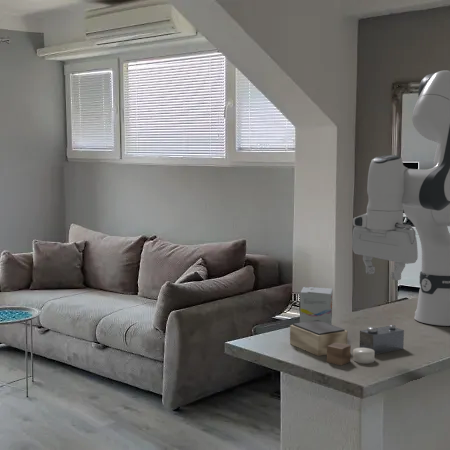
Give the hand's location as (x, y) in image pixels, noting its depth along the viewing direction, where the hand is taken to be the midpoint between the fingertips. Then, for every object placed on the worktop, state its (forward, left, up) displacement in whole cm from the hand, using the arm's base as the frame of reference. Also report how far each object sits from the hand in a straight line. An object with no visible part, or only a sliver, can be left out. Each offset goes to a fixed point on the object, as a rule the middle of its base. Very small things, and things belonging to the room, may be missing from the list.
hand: (382, 276), depth 173 cm
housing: (0, 0, -19) cm, 19 cm away
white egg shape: (+10, +5, -19) cm, 22 cm away
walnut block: (+16, +3, -19) cm, 25 cm away
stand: (+13, -9, -19) cm, 24 cm away
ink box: (+4, -22, -19) cm, 29 cm away
